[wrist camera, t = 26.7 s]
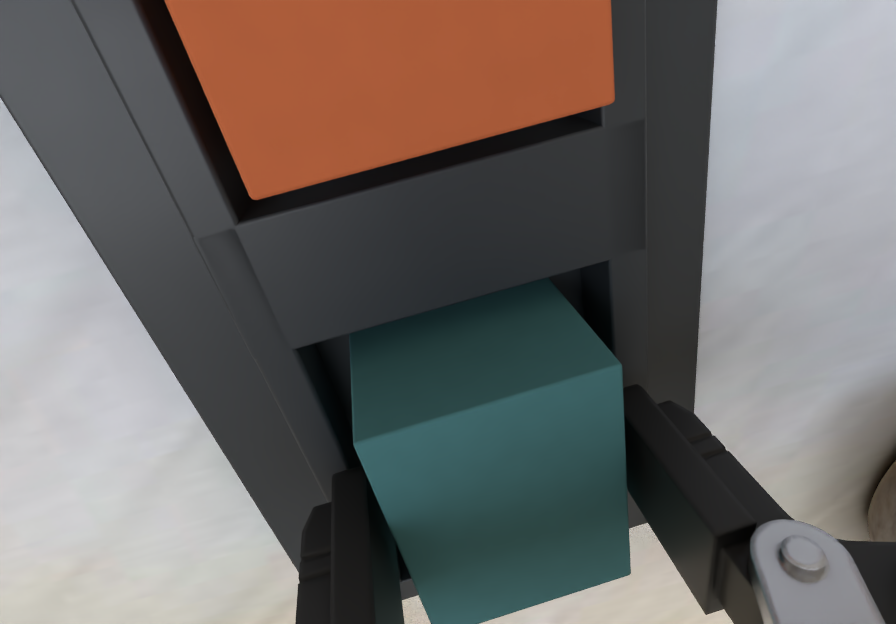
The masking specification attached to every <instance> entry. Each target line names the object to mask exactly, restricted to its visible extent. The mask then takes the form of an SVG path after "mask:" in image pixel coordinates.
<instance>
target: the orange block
mask: <svg viewBox="0 0 896 624" xmlns="http://www.w3.org/2000/svg"><path fill="white" fill-rule="evenodd" d="M164 1H165V3H166V5H167V8H168V10H169V12H170V15H171V17H172V19H173V21H174V24H175V26H176V28H177V31H178V33H179V35H180V38H181V40H182V42H183V44H184V47H185V49H186V51H187V54H188V56H189V58H190V61H191V63H192V65H193V67H194V70H195V72H196V74H197V77H198V79H199V81H200V84H201V86H202V88H203V90H204V93H205V95H206V97H207V100H208V102H209V104H210V107H211V109H212V111H213V113H214V116H215V118H216V120H217V123H218V125H219V127H220V130H221V132H222V134H223V136H224V139H225V141H226V143H227V146H228V148H229V150H230V153H231V155H232V157H233V159H234V162H235V164H236V166H237V169H238V171H239V173H240V176H241V178H242V180H243V182H244V185H245V187H246V189H247V192H248V194H249V196H250V197H251V198H252V199H253V200H259V199H263V198H267V197H271V196H274V195H278V194H282V193H285V192H289V191H293V190H296V189H300V188H304V187H307V186H311V185H315V184H319V183H322V182H326V181H330V180H333V179H337V178H341V177H344V176H348V175H352V174H355V173H359V172H363V171H367V170H370V169H374V168H378V167H381V166H385V165H389V164H392V163H396V162H400V161H403V160H407V159H411V158H415V157H418V156H422V155H426V154H429V153H433V152H437V151H440V150H444V149H448V148H451V147H455V146H459V145H462V144H466V143H470V142H474V141H477V140H481V139H485V138H488V137H492V136H496V135H499V134H503V133H507V132H510V131H514V130H518V129H522V128H525V127H529V126H533V125H536V124H540V123H544V122H547V121H551V120H555V119H558V118H562V117H566V116H570V115H573V114H577V113H581V112H584V111H588V110H592V109H595V108H599V107H603V106H606V105H610V104H611V103H613V102H614V100H615V90H614V65H613V41H612V16H611V0H164Z"/></svg>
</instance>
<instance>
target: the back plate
mask: <svg viewBox="0 0 896 624" xmlns="http://www.w3.org/2000/svg"><path fill="white" fill-rule="evenodd" d="M716 15H717V0H611V16H612V41H613V65H614V90H615V100H614V102H613V103H611V104H610V105H606V106H603V107H599V108H595V109H592V110H588V111H584V112H581V113H577V114H573V115H570V116H566V117H562V118H558V119H555V120H551V121H547V122H544V123H540V124H536V125H533V126H529V127H525V128H522V129H518V130H514V131H510V132H507V133H503V134H499V135H496V136H492V137H488V138H485V139H481V140H477V141H474V142H470V143H466V144H462V145H459V146H455V147H451V148H448V149H444V150H440V151H437V152H433V153H429V154H426V155H422V156H418V157H415V158H411V159H407V160H403V161H400V162H396V163H392V164H389V165H385V166H381V167H378V168H374V169H370V170H367V171H363V172H359V173H355V174H352V175H348V176H344V177H341V178H337V179H333V180H330V181H326V182H322V183H319V184H315V185H311V186H307V187H304V188H300V189H296V190H293V191H289V192H285V193H282V194H278V195H274V196H271V197H267V198H263V199H259V200H253V199H252V198H251V197H250V196H249V194H248V192H247V189H246V187H245V185H244V182H243V180H242V178H241V176H240V173H239V171H238V169H237V166H236V164H235V162H234V159H233V157H232V155H231V153H230V150H229V148H228V146H227V143H226V141H225V139H224V136H223V134H222V132H221V130H220V127H219V125H218V123H217V120H216V118H215V116H214V113H213V111H212V109H211V107H210V104H209V102H208V100H207V97H206V95H205V93H204V90H203V88H202V86H201V84H200V81H199V79H198V77H197V74H196V72H195V70H194V67H193V65H192V63H191V61H190V58H189V56H188V54H187V51H186V49H185V47H184V44H183V42H182V40H181V38H180V35H179V33H178V31H177V28H176V26H175V24H174V21H173V19H172V17H171V15H170V12H169V10H168V8H167V5H166V3H165V1H164V0H0V98H1V99H2V101H3V102H4V104H5V105H6V107H7V109H8V110H9V112H10V113H11V115H12V117H13V118H14V120H15V121H16V123H17V125H18V126H19V128H20V129H21V131H22V133H23V134H24V136H25V137H26V139H27V141H28V142H29V144H30V145H31V147H32V148H33V150H34V152H35V153H36V155H37V156H38V158H39V160H40V161H41V163H42V164H43V166H44V168H45V169H46V171H47V172H48V174H49V176H50V177H51V179H52V180H53V182H54V184H55V185H56V187H57V188H58V190H59V191H60V193H61V195H62V196H63V198H64V199H65V201H66V203H67V204H68V206H69V207H70V209H71V211H72V212H73V214H74V215H75V217H76V219H77V220H78V222H79V223H80V225H81V227H82V228H83V230H84V231H85V233H86V234H87V236H88V238H89V239H90V241H91V242H92V244H93V246H94V247H95V249H96V250H97V252H98V254H99V255H100V257H101V258H102V260H103V262H104V263H105V265H106V266H107V268H108V270H109V271H110V273H111V274H112V276H113V277H114V279H115V281H116V282H117V284H118V285H119V287H120V289H121V290H122V292H123V293H124V295H125V297H126V298H127V300H128V301H129V303H130V305H131V306H132V308H133V309H134V311H135V313H136V314H137V316H138V317H139V319H140V320H141V322H142V324H143V325H144V327H145V328H146V330H147V332H148V333H149V335H150V336H151V338H152V340H153V341H154V343H155V344H156V346H157V348H158V349H159V351H160V352H161V354H162V356H163V357H164V359H165V360H166V362H167V363H168V365H169V367H170V368H171V370H172V371H173V373H174V375H175V376H176V378H177V379H178V381H179V383H180V384H181V386H182V387H183V389H184V391H185V392H186V394H187V395H188V397H189V399H190V400H191V402H192V403H193V405H194V406H195V408H196V410H197V411H198V413H199V414H200V416H201V418H202V419H203V421H204V422H205V424H206V426H207V427H208V429H209V430H210V432H211V434H212V435H213V437H214V438H215V440H216V442H217V443H218V445H219V446H220V448H221V449H222V451H223V453H224V454H225V456H226V457H227V459H228V461H229V462H230V464H231V465H232V467H233V469H234V470H235V472H236V473H237V475H238V477H239V478H240V480H241V481H242V483H243V485H244V486H245V488H246V489H247V491H248V492H249V494H250V496H251V497H252V499H253V500H254V502H255V504H256V505H257V507H258V508H259V510H260V512H261V513H262V515H263V516H264V518H265V520H266V521H267V523H268V524H269V526H270V528H271V529H272V531H273V532H274V534H275V535H276V537H277V539H278V540H279V542H280V543H281V545H282V547H283V548H284V550H285V551H286V553H287V555H288V556H289V558H290V559H291V561H292V563H293V564H294V566H295V567H296V569H297V571H298V572H299V567H300V562H301V558H300V553H301V538H302V531H303V528H304V526H305V524H306V522H307V520H308V518H309V516H310V513H311V511H312V509H313V507H315V506H319V505H322V504H325V503H328V502H331V495H332V476H333V474H335V473H338V472H341V471H345V470H348V469H351V468H355V467H358V466H361V465H362V464H361V461H360V459H359V457H358V455H357V452H356V450H355V448H354V445H353V423H352V396H351V370H350V343H349V334H350V333H354V332H357V331H361V330H364V329H368V328H371V327H375V326H379V325H382V324H386V323H389V322H393V321H396V320H400V319H403V318H407V317H410V316H414V315H417V314H421V313H424V312H428V311H431V310H435V309H438V308H442V307H446V306H449V305H453V304H456V303H460V302H463V301H467V300H470V299H474V298H477V297H481V296H484V295H488V294H491V293H495V292H498V291H502V290H505V289H509V288H513V287H516V286H520V285H523V284H527V283H530V282H534V281H537V280H541V279H544V278H549V279H550V280H551V281H552V283H553V284H554V285H555V286H556V287H557V288H558V290H559V291H560V292H561V293H562V294H563V296H564V297H565V298H566V299H567V300H568V301H569V303H570V304H571V305H572V306H573V307H574V309H575V310H576V311H577V312H578V313H579V314H580V316H581V317H582V318H583V319H584V320H585V322H586V323H587V324H588V325H589V326H590V327H591V329H592V330H593V331H594V332H595V333H596V335H597V336H598V337H599V338H600V339H601V340H602V342H603V343H604V344H605V345H606V346H607V348H608V349H609V350H610V351H611V352H612V353H613V355H614V356H615V357H616V358H617V359H618V361H619V362H620V363H621V364H622V374H623V388H624V387H628V386H631V385H634V384H638V385H640V386H641V387H643V389H644V390H645V391H646V392H647V393H648V394H649V396H650V397H651V398H652V399H653V400H654V401H655V403H656V404H658V403H662V402H665V401H668V400H671V401H672V402H674V403H676V404H678V405H680V406H681V407H683V408H685V409H687V410H689V411H691V412H692V413H694V399H695V382H696V364H697V347H698V329H699V312H700V295H701V277H702V260H703V242H704V225H705V207H706V190H707V172H708V155H709V138H710V120H711V103H712V85H713V68H714V50H715V33H716ZM627 496H628V520H629V528H632V527H635V526H638V525H641V524H645V523H648V522H647V520H646V519H645V517H644V516H643V514H642V512H641V511H640V509H639V508H638V506H637V504H636V503H635V501H634V500H633V498H632V497H631V495H630V493H629V492H628V490H627ZM395 545H396V554H397V563H398V572H399V581H400V590H401V599H402V600H404V599H407V598H410V597H414V596H417V595H418V592H417V590H416V588H415V585H414V583H413V581H412V579H411V576H410V574H409V572H408V569H407V567H406V565H405V563H404V560H403V558H402V556H401V553H400V551H399V549H398V546H397V544H396V542H395Z"/></svg>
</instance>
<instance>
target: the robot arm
mask: <svg viewBox="0 0 896 624" xmlns="http://www.w3.org/2000/svg"><path fill="white" fill-rule="evenodd" d="M623 399H624V423H625V447H626V472H627V490H628V492H629V493H630V495H631V497H632V498H633V500H634V501H635V503H636V504H637V506H638V508H639V509H640V511H641V512H642V514H643V516H644V517H645V519H646V520H647V522H648V524H649V525H650V527H651V528H652V530H653V532H654V533H655V535H656V536H657V538H658V539H659V541H660V543H661V544H662V546H663V547H664V549H665V551H666V552H667V554H668V555H669V557H670V559H671V560H672V562H673V563H674V565H675V567H676V568H677V570H678V571H679V573H680V574H681V576H682V578H683V579H684V581H685V582H686V584H687V586H688V587H689V589H690V590H691V592H692V594H693V595H694V597H695V598H696V600H697V602H698V603H699V605H700V606H701V608H702V610H703V611H704V613H705V614H706V615H707V614H710V613H713V612H716V611H719V610H722V609H725V611H726V612H727V614H728V615H729V617H730V618H731V620H732V621H733V623H734V624H896V542H871V541H845V540H840V539H835V538H833V537H832V536H831V535H829V534H828V533H826V532H824V531H823V530H821V529H819V528H817V527H815V526H813V525H810V524H807V523H804V522H800V521H795V520H794V519H793V518H791V517H790V516H789V515H788V514H787V513H786V512H785V511H784V510H783V509H782V508H781V507H780V506H779V505H778V504H777V503H776V502H775V501H774V499H773V498H772V497H771V496H770V495H769V494H768V493H767V492H766V491H765V490H764V489H763V488H762V487H761V485H760V484H759V483H758V482H757V481H756V480H755V479H754V478H753V477H752V476H751V475H750V474H749V472H748V471H747V470H746V469H745V468H744V467H743V466H742V465H741V464H740V463H739V462H738V461H737V460H736V458H735V457H734V456H733V455H732V454H731V453H730V452H729V451H728V452H727V451H726V449H725V447H724V445H723V444H722V443H721V442H720V441H719V440H718V439H717V438H716V437H715V436H712V434H711V431H710V430H709V429H708V428H707V427H706V426H705V425H704V424H703V423H702V422H701V421H700V420H699V418H698V417H697V416H696V415H695V414H694V413H692V412H691V411H689V410H687V409H685V408H683V407H681V406H680V405H678V404H676V403H674V402H672V401H671V400H668V401H665V402H662V403H658V404H656V403H655V401H654V400H653V399H652V398H651V397H650V396H649V394H648V393H647V392H646V391H645V390H644V389H643V387H641V386H640V385H638V384H634V385H631V386H628V387H624V388H623ZM300 558H301V562H300V567H299V581H300V583H299V584H298V596H297V610H296V624H404V616H403V607H402V599H401V590H400V581H399V572H398V563H397V554H396V545H395V540H394V537H393V535H392V533H391V530H390V528H389V526H388V523H387V521H386V519H385V517H384V514H383V512H382V510H381V507H380V505H379V503H378V501H377V498H376V496H375V494H374V491H373V489H372V487H371V484H370V482H369V480H368V478H367V475H366V473H365V471H364V468H363V466H362V465H361V466H358V467H355V468H351V469H348V470H345V471H341V472H338V473H335V474H333V476H332V495H331V502H328V503H325V504H322V505H319V506H315V507H313V509H312V511H311V513H310V516H309V518H308V520H307V522H306V524H305V526H304V528H303V531H302V538H301V553H300Z"/></svg>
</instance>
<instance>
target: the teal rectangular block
mask: <svg viewBox="0 0 896 624" xmlns="http://www.w3.org/2000/svg"><path fill="white" fill-rule="evenodd" d="M349 343H350V370H351V396H352V423H353V445H354V448H355V450H356V452H357V455H358V457H359V459H360V461H361V464H362V466H363V468H364V471H365V473H366V475H367V478H368V480H369V482H370V484H371V487H372V489H373V491H374V494H375V496H376V498H377V501H378V503H379V505H380V507H381V510H382V512H383V514H384V517H385V519H386V521H387V523H388V526H389V528H390V530H391V533H392V535H393V537H394V540H395V542H396V544H397V546H398V549H399V551H400V553H401V556H402V558H403V560H404V563H405V565H406V567H407V569H408V572H409V574H410V576H411V579H412V581H413V583H414V585H415V588H416V590H417V592H418V595H419V597H420V599H421V602H422V604H423V606H424V608H425V611H426V613H427V615H428V618H429V620H430V622H431V624H479V623H482V622H485V621H488V620H491V619H494V618H497V617H501V616H504V615H507V614H510V613H513V612H516V611H519V610H522V609H525V608H528V607H532V606H535V605H538V604H541V603H544V602H547V601H550V600H553V599H556V598H559V597H563V596H566V595H569V594H572V593H575V592H578V591H581V590H584V589H587V588H590V587H594V586H597V585H600V584H603V583H606V582H609V581H612V580H615V579H618V578H621V577H624V576H628V575H630V574H631V569H630V545H629V520H628V496H627V472H626V447H625V423H624V399H623V374H622V364H621V363H620V362H619V361H618V359H617V358H616V357H615V356H614V355H613V353H612V352H611V351H610V350H609V349H608V348H607V346H606V345H605V344H604V343H603V342H602V340H601V339H600V338H599V337H598V336H597V335H596V333H595V332H594V331H593V330H592V329H591V327H590V326H589V325H588V324H587V323H586V322H585V320H584V319H583V318H582V317H581V316H580V314H579V313H578V312H577V311H576V310H575V309H574V307H573V306H572V305H571V304H570V303H569V301H568V300H567V299H566V298H565V297H564V296H563V294H562V293H561V292H560V291H559V290H558V288H557V287H556V286H555V285H554V284H553V283H552V281H551V280H550V279H549V278H544V279H541V280H537V281H534V282H530V283H527V284H523V285H520V286H516V287H513V288H509V289H505V290H502V291H498V292H495V293H491V294H488V295H484V296H481V297H477V298H474V299H470V300H467V301H463V302H460V303H456V304H453V305H449V306H446V307H442V308H438V309H435V310H431V311H428V312H424V313H421V314H417V315H414V316H410V317H407V318H403V319H400V320H396V321H393V322H389V323H386V324H382V325H379V326H375V327H371V328H368V329H364V330H361V331H357V332H354V333H350V334H349Z"/></svg>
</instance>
